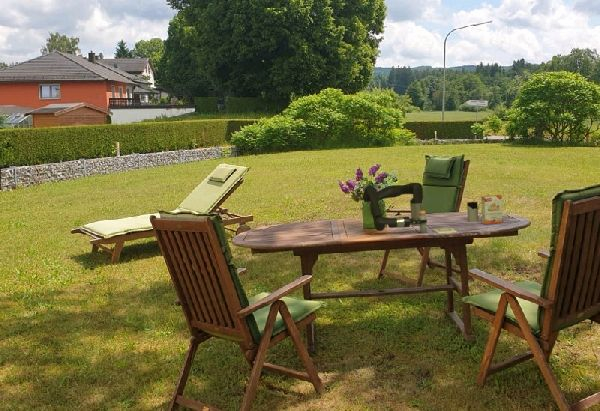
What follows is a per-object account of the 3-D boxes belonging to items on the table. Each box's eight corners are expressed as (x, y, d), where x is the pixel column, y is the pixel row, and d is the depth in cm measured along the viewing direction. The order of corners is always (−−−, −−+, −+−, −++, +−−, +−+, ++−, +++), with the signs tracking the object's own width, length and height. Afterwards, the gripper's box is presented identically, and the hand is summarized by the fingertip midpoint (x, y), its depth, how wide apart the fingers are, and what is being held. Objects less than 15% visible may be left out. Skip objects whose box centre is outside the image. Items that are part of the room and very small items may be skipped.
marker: (419, 232, 427) (418, 210, 425) (426, 232, 427) (424, 210, 425) (421, 233, 422) (419, 211, 420) (427, 233, 422) (426, 210, 420)
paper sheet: (432, 230, 432) (432, 228, 432) (450, 229, 432) (450, 227, 432) (438, 233, 416) (437, 232, 416) (456, 232, 416) (456, 230, 416)
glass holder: (465, 221, 463) (464, 202, 462) (481, 219, 467) (480, 200, 465) (471, 222, 455) (470, 203, 453) (487, 220, 458) (486, 201, 457)
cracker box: (485, 224, 440) (484, 196, 438) (481, 223, 446) (480, 196, 444) (503, 222, 442) (501, 195, 440) (498, 222, 448) (497, 194, 446)
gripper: (401, 225, 431) (423, 224, 431) (404, 228, 417) (427, 226, 417) (400, 215, 430) (423, 214, 430) (404, 218, 416) (427, 216, 416)
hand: (425, 220), depth 423 cm, fingers open, 8 cm apart
